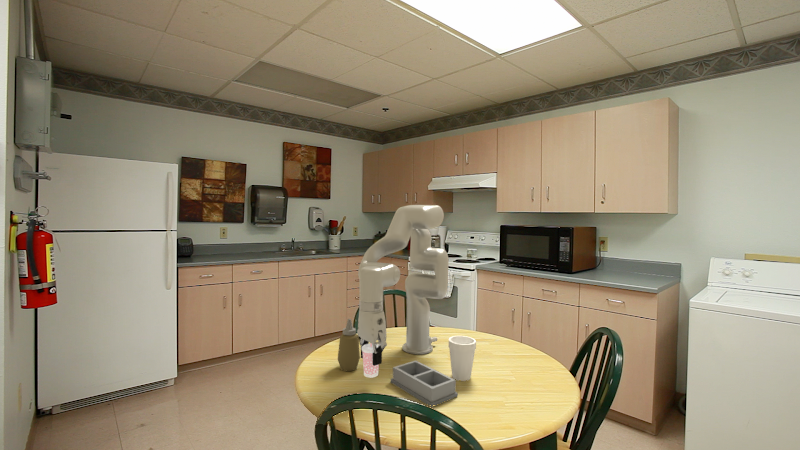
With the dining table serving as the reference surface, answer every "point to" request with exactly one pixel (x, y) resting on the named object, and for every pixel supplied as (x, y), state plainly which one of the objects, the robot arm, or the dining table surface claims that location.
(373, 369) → the beverage cup
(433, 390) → the compartment organizer caddy
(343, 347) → the squeeze bottle
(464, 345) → the foam cup
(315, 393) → the dining table surface
